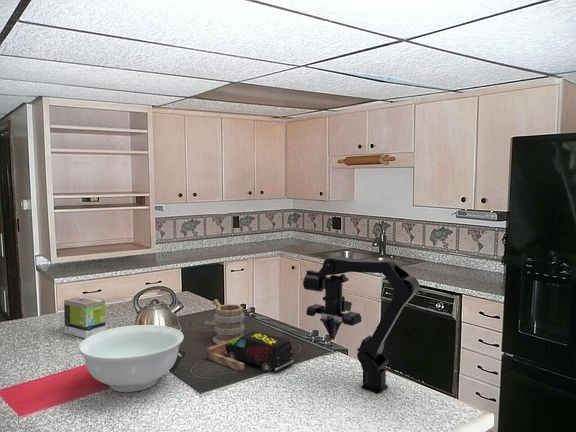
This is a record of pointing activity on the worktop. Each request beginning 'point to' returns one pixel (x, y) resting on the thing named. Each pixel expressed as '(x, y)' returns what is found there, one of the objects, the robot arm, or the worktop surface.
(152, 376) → the bowl
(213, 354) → the wooden corner rails
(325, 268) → the robot arm
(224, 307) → the tankard
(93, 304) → the tea box
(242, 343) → the toy van
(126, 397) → the worktop surface
